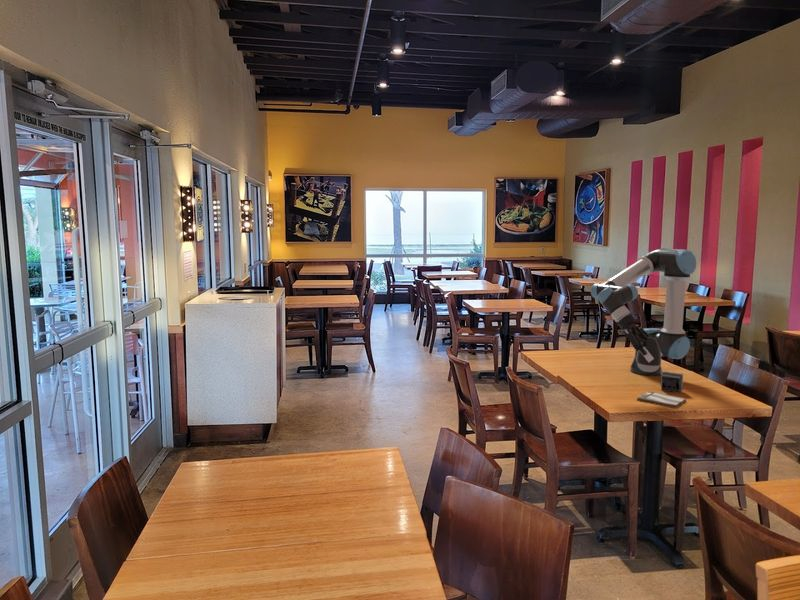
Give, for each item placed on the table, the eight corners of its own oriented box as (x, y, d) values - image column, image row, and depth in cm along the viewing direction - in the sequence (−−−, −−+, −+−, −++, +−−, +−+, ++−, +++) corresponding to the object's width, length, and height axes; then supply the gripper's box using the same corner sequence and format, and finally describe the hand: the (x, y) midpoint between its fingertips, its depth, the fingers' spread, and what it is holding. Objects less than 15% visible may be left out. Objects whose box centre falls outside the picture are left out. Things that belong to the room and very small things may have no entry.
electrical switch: (682, 391, 280) (683, 372, 278) (680, 395, 276) (682, 375, 274) (661, 388, 285) (662, 369, 283) (659, 391, 281) (659, 372, 279)
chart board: (648, 393, 275) (648, 390, 275) (685, 401, 265) (685, 398, 265) (637, 400, 265) (637, 397, 265) (675, 408, 255) (675, 405, 254)
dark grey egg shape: (631, 367, 271) (633, 334, 269) (653, 367, 272) (656, 334, 270) (641, 373, 261) (644, 339, 259) (664, 373, 262) (667, 339, 260)
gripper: (628, 320, 282) (659, 359, 274) (606, 325, 266) (639, 367, 258) (640, 310, 278) (672, 350, 269) (619, 315, 262) (652, 357, 253)
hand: (656, 358), depth 264 cm, fingers closed on dark grey egg shape, 9 cm apart
